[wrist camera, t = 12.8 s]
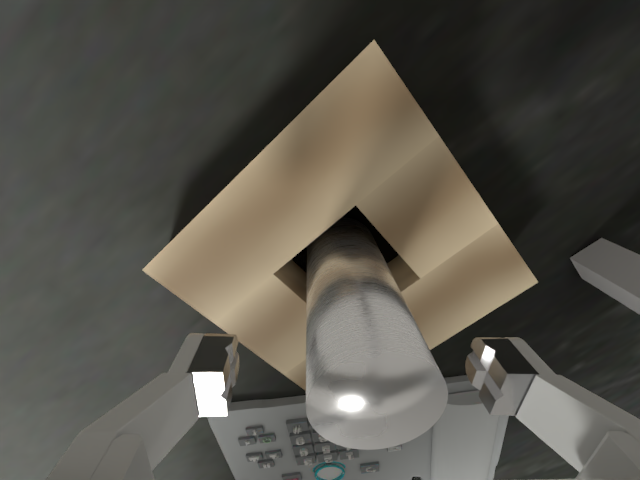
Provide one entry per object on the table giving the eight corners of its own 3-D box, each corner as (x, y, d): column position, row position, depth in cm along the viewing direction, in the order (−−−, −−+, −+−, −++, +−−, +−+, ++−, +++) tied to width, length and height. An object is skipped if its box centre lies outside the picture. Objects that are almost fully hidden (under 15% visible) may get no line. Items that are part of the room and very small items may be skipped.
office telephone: (532, 388, 20) (498, 533, 28) (508, 358, 23) (483, 500, 31) (199, 433, 21) (260, 564, 29) (210, 399, 23) (263, 529, 31)
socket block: (503, 255, 18) (538, 282, 15) (329, 372, 21) (332, 411, 19) (360, 53, 13) (374, 39, 11) (168, 243, 17) (141, 270, 14)
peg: (388, 251, 18) (474, 405, 8) (336, 289, 19) (365, 465, 9) (345, 203, 16) (392, 326, 7) (292, 247, 17) (275, 405, 8)
